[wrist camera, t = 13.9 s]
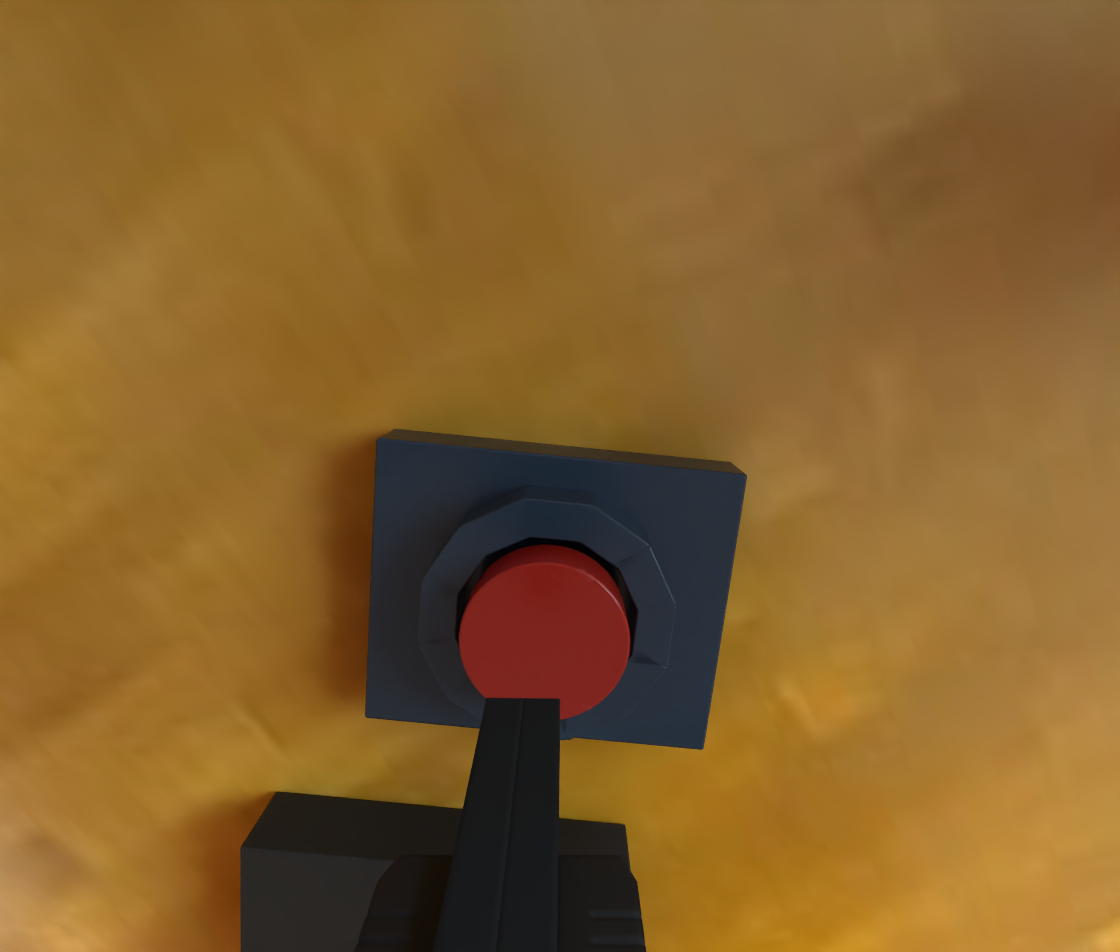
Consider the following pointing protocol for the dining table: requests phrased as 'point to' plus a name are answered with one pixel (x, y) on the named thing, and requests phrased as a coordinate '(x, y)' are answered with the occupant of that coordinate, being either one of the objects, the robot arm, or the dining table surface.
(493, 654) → the power button
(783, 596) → the dining table surface
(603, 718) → the button housing
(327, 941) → the control panel
